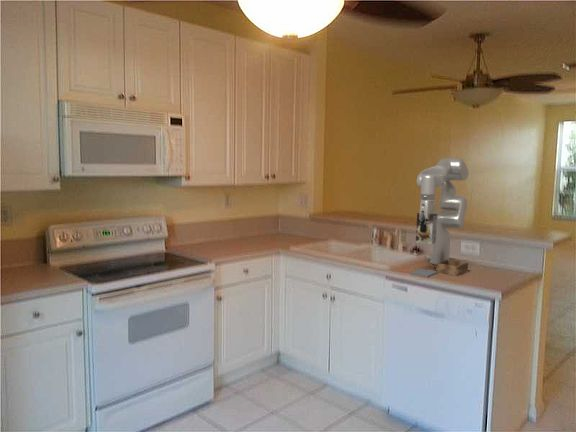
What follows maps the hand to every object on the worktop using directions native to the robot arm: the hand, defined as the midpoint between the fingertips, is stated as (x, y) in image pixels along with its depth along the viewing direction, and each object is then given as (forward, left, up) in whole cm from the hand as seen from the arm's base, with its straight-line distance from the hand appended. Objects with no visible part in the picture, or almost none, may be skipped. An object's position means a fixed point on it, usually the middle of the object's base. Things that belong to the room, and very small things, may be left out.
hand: (426, 230), depth 238 cm
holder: (+9, +15, -23) cm, 29 cm away
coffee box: (0, 0, -7) cm, 7 cm away
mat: (0, 0, -23) cm, 23 cm away
